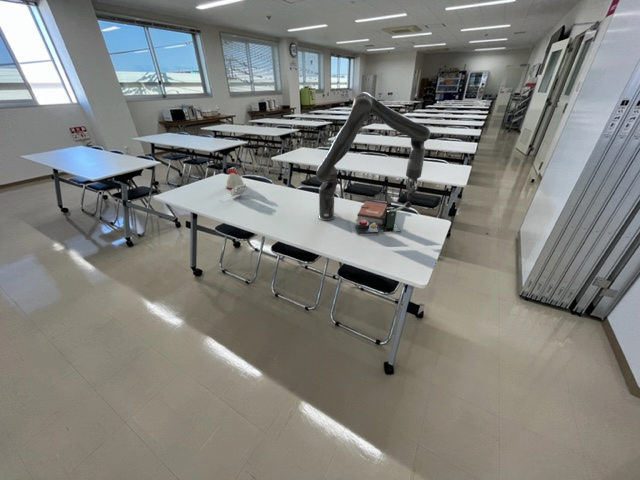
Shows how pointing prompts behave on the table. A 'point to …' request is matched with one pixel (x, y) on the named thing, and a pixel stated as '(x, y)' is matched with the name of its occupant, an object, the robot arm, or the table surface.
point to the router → (238, 190)
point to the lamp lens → (373, 225)
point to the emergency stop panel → (365, 228)
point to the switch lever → (403, 206)
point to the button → (363, 222)
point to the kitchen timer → (233, 180)
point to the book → (373, 211)
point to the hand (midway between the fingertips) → (409, 198)
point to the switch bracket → (389, 221)
